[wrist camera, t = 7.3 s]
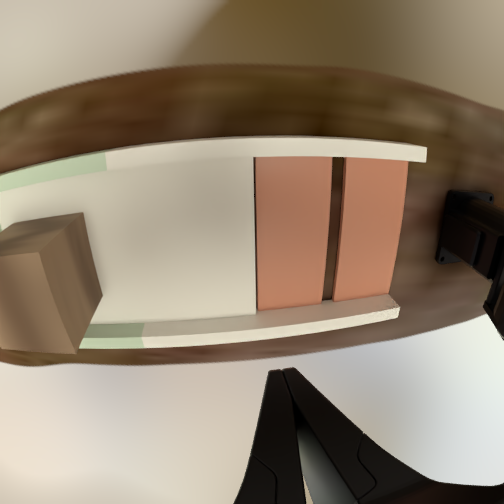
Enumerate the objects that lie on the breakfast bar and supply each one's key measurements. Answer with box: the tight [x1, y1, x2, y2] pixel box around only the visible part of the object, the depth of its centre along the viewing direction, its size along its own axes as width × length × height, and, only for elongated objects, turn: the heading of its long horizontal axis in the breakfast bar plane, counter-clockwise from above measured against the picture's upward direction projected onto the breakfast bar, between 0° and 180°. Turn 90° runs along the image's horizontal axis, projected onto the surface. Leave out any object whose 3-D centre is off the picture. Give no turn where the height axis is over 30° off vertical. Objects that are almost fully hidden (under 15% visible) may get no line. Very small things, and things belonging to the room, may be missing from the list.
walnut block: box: [0, 212, 103, 354], centre depth 15 cm, size 6×6×6 cm
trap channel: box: [0, 136, 427, 349], centre depth 18 cm, size 30×13×2 cm, turn 91°
